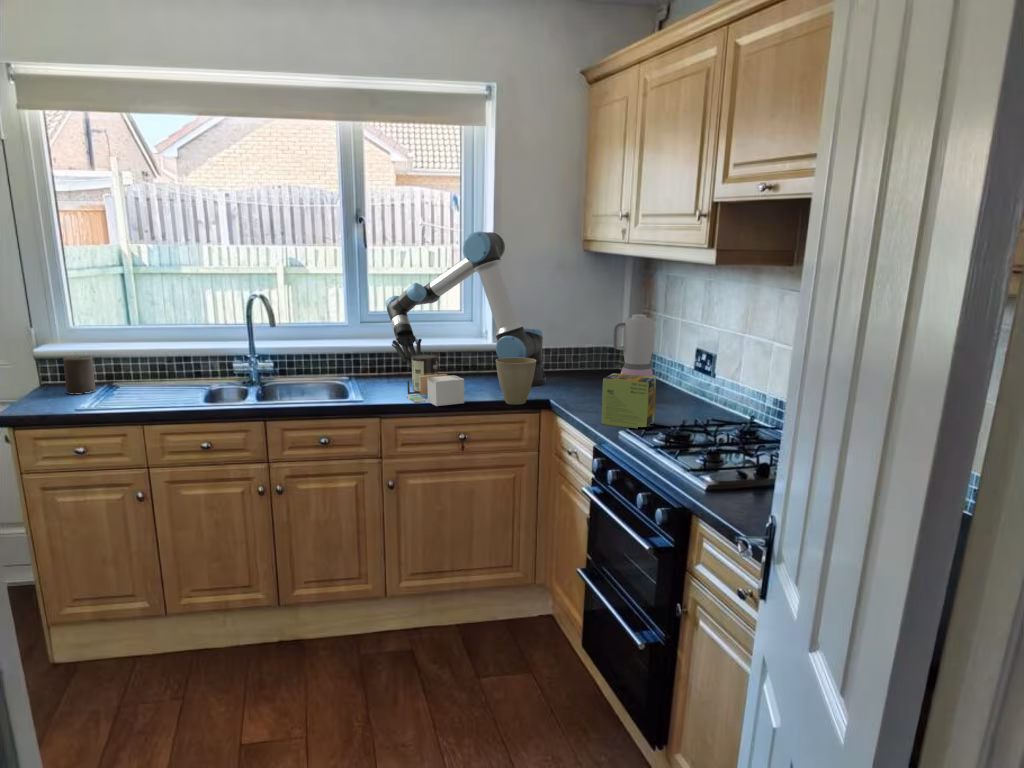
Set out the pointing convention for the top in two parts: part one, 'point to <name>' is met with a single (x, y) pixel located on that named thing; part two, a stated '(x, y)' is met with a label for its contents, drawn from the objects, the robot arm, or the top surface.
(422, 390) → the gauge plunger
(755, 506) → the top surface
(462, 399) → the gauge frame
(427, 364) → the coffee can
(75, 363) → the pillar candle
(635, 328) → the blender
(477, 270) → the robot arm
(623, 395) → the protein box
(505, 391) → the plant pot
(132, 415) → the top surface
